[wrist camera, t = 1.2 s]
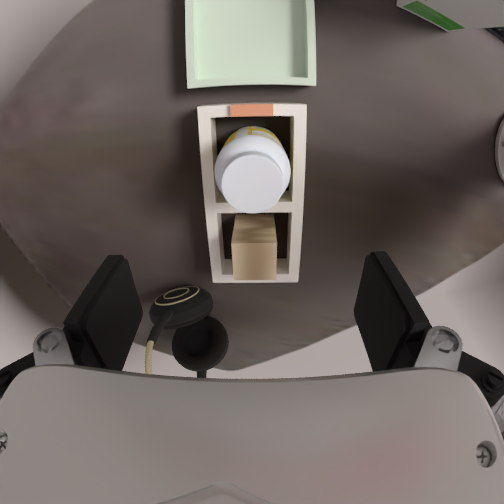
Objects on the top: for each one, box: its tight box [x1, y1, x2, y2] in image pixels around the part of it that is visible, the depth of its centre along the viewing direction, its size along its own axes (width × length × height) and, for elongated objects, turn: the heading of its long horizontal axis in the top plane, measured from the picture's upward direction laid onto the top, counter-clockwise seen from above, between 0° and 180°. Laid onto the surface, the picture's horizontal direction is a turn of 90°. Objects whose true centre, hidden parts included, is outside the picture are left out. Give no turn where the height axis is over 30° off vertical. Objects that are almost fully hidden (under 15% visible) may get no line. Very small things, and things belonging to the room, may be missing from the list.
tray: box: [185, 0, 316, 89], centre depth 23 cm, size 13×14×2 cm
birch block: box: [231, 214, 277, 280], centre depth 33 cm, size 4×4×7 cm
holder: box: [197, 103, 307, 283], centre depth 32 cm, size 10×21×4 cm, turn 1°
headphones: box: [145, 286, 229, 378], centre depth 34 cm, size 9×15×20 cm, turn 14°
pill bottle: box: [214, 126, 291, 214], centre depth 26 cm, size 6×6×12 cm
